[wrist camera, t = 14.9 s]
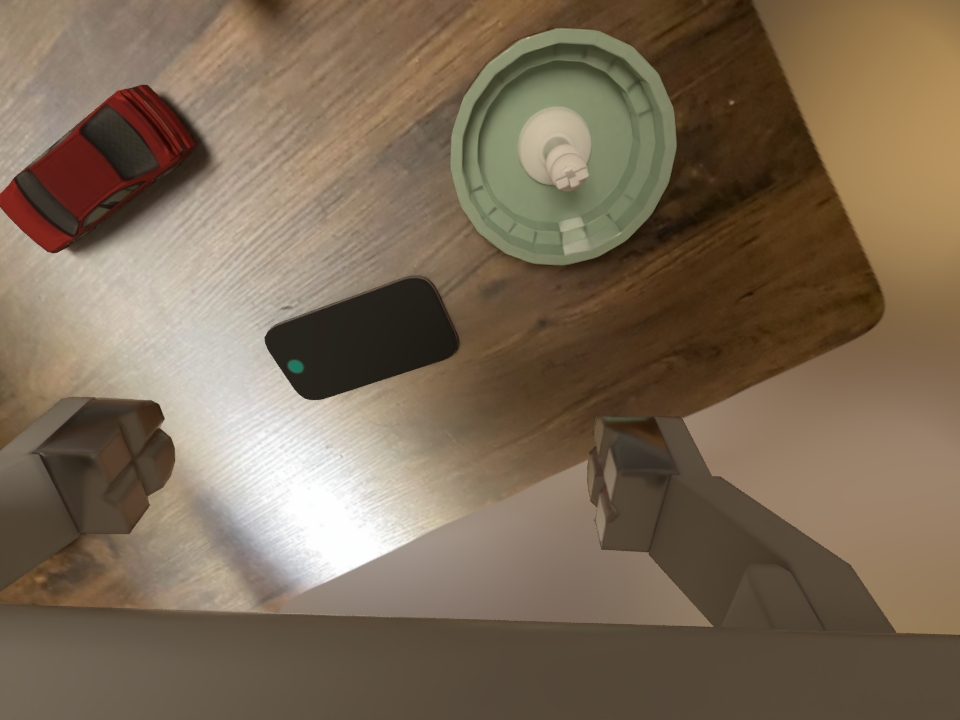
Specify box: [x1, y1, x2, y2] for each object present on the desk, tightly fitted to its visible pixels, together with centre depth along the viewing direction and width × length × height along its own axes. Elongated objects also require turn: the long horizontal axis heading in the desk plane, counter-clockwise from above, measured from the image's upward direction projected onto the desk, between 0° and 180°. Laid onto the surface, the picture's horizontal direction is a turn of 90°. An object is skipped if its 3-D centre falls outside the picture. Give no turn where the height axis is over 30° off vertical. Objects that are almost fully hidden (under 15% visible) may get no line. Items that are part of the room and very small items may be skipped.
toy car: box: [0, 85, 196, 253], centre depth 36 cm, size 6×15×5 cm, turn 117°
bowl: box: [450, 28, 677, 265], centre depth 35 cm, size 13×13×5 cm
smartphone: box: [265, 276, 458, 400], centre depth 44 cm, size 8×1×15 cm
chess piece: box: [517, 106, 592, 191], centre depth 32 cm, size 5×5×10 cm
